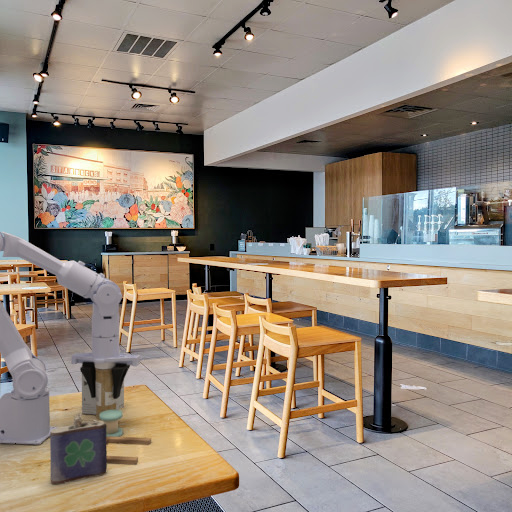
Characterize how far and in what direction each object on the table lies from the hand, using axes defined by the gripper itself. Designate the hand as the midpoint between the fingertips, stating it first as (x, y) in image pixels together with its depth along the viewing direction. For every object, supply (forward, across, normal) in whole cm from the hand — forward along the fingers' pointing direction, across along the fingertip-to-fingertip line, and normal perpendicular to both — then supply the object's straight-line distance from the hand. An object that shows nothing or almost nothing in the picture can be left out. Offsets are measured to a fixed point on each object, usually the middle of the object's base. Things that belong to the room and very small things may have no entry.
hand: (105, 396), depth 108 cm
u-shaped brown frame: (+6, +8, -12) cm, 16 cm away
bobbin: (+6, +3, -5) cm, 8 cm away
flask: (+6, +4, -22) cm, 24 cm away
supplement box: (+6, -4, +9) cm, 11 cm away
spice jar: (+5, 0, +1) cm, 5 cm away
